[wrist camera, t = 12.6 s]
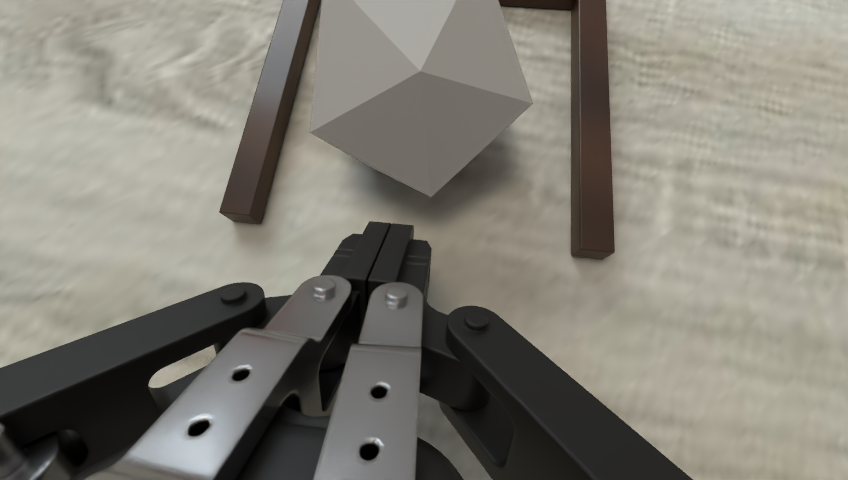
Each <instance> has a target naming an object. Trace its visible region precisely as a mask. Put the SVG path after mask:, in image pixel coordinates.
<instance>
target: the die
mask: <svg viewBox="0 0 848 480" xmlns="http://www.w3.org/2000/svg"><path fill="white" fill-rule="evenodd" d="M532 104H533V102H532V99H531V96H530V93H529V90H528V87H527V84H526V81H525V78H524V75H523V72H522V69H521V66H520V63H519V60H518V57H517V54H516V52H515V49H514V46H513V43H512V40H511V37H510V34H509V31H508V28H507V25H506V22H505V19H504V16H503V13H502V10H501V7H500V4H499V1H498V0H322V4H321V15H320V26H319V37H318V48H317V59H316V70H315V81H314V92H313V103H312V114H311V125H310V133H312V134H314V135H315V136H317V137H319V138H321V139H322V140H324V141H326V142H328V143H329V144H331V145H333V146H335V147H336V148H338V149H340V150H342V151H343V152H345V153H347V154H349V155H350V156H352V157H354V158H356V159H357V160H359V161H361V162H363V163H364V164H366V165H368V166H369V167H371V168H373V169H375V170H377V171H379V172H381V173H383V174H385V175H387V176H389V177H391V178H393V179H395V180H397V181H399V182H401V183H403V184H405V185H407V186H409V187H411V188H413V189H415V190H417V191H419V192H421V193H423V194H425V195H427V196H429V197H432V196H433V195H434V194H435V193H436V192H437V191H438V190H440V189H441V188H442V187H443V186H444V185H445V184H446V183H447V182H448V181H449V180H450V179H452V178H453V177H454V176H455V175H456V174H457V173H458V172H459V171H460V170H461V169H462V168H463V167H465V166H466V165H467V164H468V163H469V162H470V161H471V160H472V159H473V158H474V157H475V156H477V155H478V154H479V153H480V152H481V151H482V150H483V149H484V148H485V147H486V146H487V145H488V144H490V143H491V142H492V141H493V140H494V139H495V138H496V137H497V136H498V135H499V134H500V133H502V132H503V131H504V130H505V129H506V128H507V127H508V126H509V125H510V124H511V123H512V122H514V121H515V120H516V119H517V118H518V117H519V116H520V115H521V114H522V113H523V112H524V111H525V110H527V109H528V108H529V107H530V106H531V105H532Z"/></svg>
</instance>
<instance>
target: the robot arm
mask: <svg viewBox="0 0 848 480" xmlns="http://www.w3.org/2000/svg"><path fill="white" fill-rule="evenodd" d="M413 237H414V226H413V225H403V224H391V223H382V222H372V221H370V222H369V223H368V225H367V227H366V229H365V231H364V232H363V234H352V235H350V236H349V237H347V238H345V239H344V240H343V241H342V242H341V244H340V245H339V247H338V250H336V251H335V253H334V255H333V256H332V258H331V259H330V261H329V262H328V264H327V265H326V267H325V269H324V270H323V272H322V273H321V275H320V276H317V277H313V278H311V279H308V280H307V281H305V282H304V283H302V284H301V285H300V286H299V288H298V289H297V290H296V291H295V292H294V294H293V295H288V296H279V297H269V298H265V296H264V291H263V289H262V288H261V287H260V286H258V285H256V284H253V283H245V282H242V283H233V284H229V285H226V286H223V287H220V288H217V289H214V290H212V291H209V292H206V293H204V294H201V295H198V296H195V297H193V298H190V299H187V300H185V301H182V302H179V303H176V304H174V305H171V306H168V307H165V308H163V309H160V310H157V311H155V312H152V313H149V314H146V315H144V316H141V317H138V318H136V319H133V320H130V321H127V322H125V323H122V324H119V325H117V326H114V327H111V328H108V329H106V330H103V331H100V332H97V333H95V334H92V335H89V336H87V337H84V338H81V339H78V340H76V341H73V342H70V343H68V344H65V345H62V346H59V347H57V348H54V349H51V350H48V351H46V352H43V353H40V354H38V355H35V356H32V357H29V358H27V359H24V360H21V361H19V362H16V363H13V364H10V365H8V366H5V367H2V368H0V480H463V478H462V477H461V475H460V474H459V472H458V471H457V469H456V468H455V467H454V466H453V465H452V463H451V462H450V461H449V460H448V459H447V458H446V457H445V456H444V455H443V454H442V453H441V452H440V451H439V450H437V449H436V448H435V447H433V446H432V445H430V444H429V443H427V442H426V441H424V440H422V439H420V438H419V437H417V430H418V409H419V392H420V393H422V394H425V395H427V396H429V397H431V398H434V399H436V400H438V401H439V405H440V408H441V410H442V412H443V413H444V414H445V416H446V417H447V419H448V420H449V421H450V423H451V424H452V425H453V427H454V428H455V429H456V431H457V432H458V433H459V435H460V436H461V437H462V439H463V440H464V441H465V443H466V444H467V445H468V447H469V448H470V449H471V451H472V452H473V453H474V455H475V456H476V458H477V459H478V460H479V462H480V463H481V464H482V466H483V467H484V468H485V470H486V471H487V472H488V474H489V475H490V476H491V478H492V479H493V480H693V479H691V478H690V477H689V476H688V475H687V474H685V473H684V472H683V471H682V470H681V469H680V468H678V467H677V466H676V465H675V464H674V463H672V462H671V461H670V460H669V459H668V458H666V457H665V456H664V455H663V454H662V453H661V452H659V451H658V450H657V449H656V448H655V447H653V446H652V445H651V444H650V443H649V442H647V441H646V440H645V439H644V438H643V437H642V436H640V435H639V434H638V433H637V432H636V431H634V430H633V429H632V428H631V427H630V426H628V425H627V424H626V423H625V422H624V421H623V420H621V419H620V418H619V417H618V416H617V415H615V414H614V413H613V412H612V411H611V410H609V409H608V408H607V407H606V406H605V405H604V404H602V403H601V402H600V401H599V400H598V399H596V398H595V397H594V396H593V395H592V394H590V393H589V392H588V391H587V390H586V389H585V388H583V387H582V386H581V385H580V384H579V383H577V382H576V381H575V380H574V379H573V378H571V377H570V376H569V375H568V374H567V373H566V372H564V371H563V370H562V369H561V368H560V367H558V366H557V365H556V364H555V363H554V362H552V361H551V360H550V359H549V358H548V357H547V356H545V355H544V354H543V353H542V352H541V351H539V350H538V349H537V348H536V347H535V346H533V345H532V344H531V343H530V342H529V341H528V340H526V339H525V338H524V337H523V336H522V335H520V334H519V333H518V332H517V331H516V330H514V329H513V328H512V327H511V326H510V325H509V324H507V323H506V322H505V321H504V320H503V319H501V318H500V317H499V316H498V315H497V314H495V313H494V312H492V311H490V310H488V309H486V308H482V307H478V306H464V307H460V308H457V309H455V310H454V311H452V312H451V313H450V314H449V315H446V314H443V313H441V312H438V311H436V310H435V309H433V308H432V307H430V306H429V305H428V304H427V302H426V301H427V295H428V288H429V277H430V264H431V250H432V249H431V247H430V245H429V244H428V242H427V241H424V240H414V239H413ZM211 345H214V348H215V351H216V357H215V358H214V359H213V360H212V361H211V362H210V363H209V364H208V365H207V366H205V367H203V368H201V369H199V370H197V371H195V372H193V373H191V374H189V375H187V376H185V377H183V378H181V379H179V380H176V381H174V382H172V383H170V384H168V385H166V386H164V387H160V388H151V387H149V386H148V384H149V381H150V379H151V377H152V376H153V375H154V374H155V373H156V372H157V371H158V370H160V369H162V368H164V367H166V366H168V365H170V364H172V363H174V362H177V361H179V360H181V359H183V358H185V357H187V356H190V355H192V354H194V353H196V352H198V351H201V350H203V349H205V348H207V347H209V346H211Z"/></svg>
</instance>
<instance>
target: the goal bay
mask: <svg viewBox="0 0 848 480" xmlns="http://www.w3.org/2000/svg"><path fill="white" fill-rule="evenodd" d="M498 1H499V4H500V5H501V6H518V7H534V8H551V9H568V10H571V255H572V256H577V257H586V258H596V259H604V258H606V257H608V256H610V255H611V254H613V253H614V252H615V248H614V220H613V191H612V163H611V135H610V107H609V79H608V51H607V22H606V0H498ZM319 3H320V0H283V4H282V7H281V10H280V14H279V17H278V20H277V23H276V27H275V30H274V33H273V37H272V40H271V43H270V47H269V50H268V53H267V56H266V60H265V63H264V66H263V70H262V73H261V76H260V79H259V83H258V86H257V89H256V93H255V96H254V99H253V102H252V106H251V109H250V112H249V116H248V119H247V122H246V126H245V129H244V132H243V135H242V139H241V142H240V145H239V149H238V152H237V155H236V158H235V162H234V165H233V168H232V172H231V175H230V178H229V181H228V185H227V188H226V191H225V195H224V198H223V201H222V205H221V208H220V211H219V212H220V213H221V214H223V215H224V216H226V217H227V218H229V219H230V220H232V221H237V222H247V223H256V224H261V221H262V218H263V214H264V210H265V206H266V203H267V199H268V195H269V191H270V187H271V184H272V180H273V176H274V172H275V169H276V165H277V161H278V157H279V154H280V150H281V146H282V142H283V138H284V135H285V131H286V127H287V123H288V120H289V116H290V112H291V108H292V105H293V101H294V97H295V93H296V89H297V86H298V82H299V78H300V74H301V71H302V67H303V63H304V59H305V55H306V52H307V48H308V44H309V40H310V37H311V33H312V29H313V25H314V22H315V18H316V14H317V10H318V6H319Z"/></svg>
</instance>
